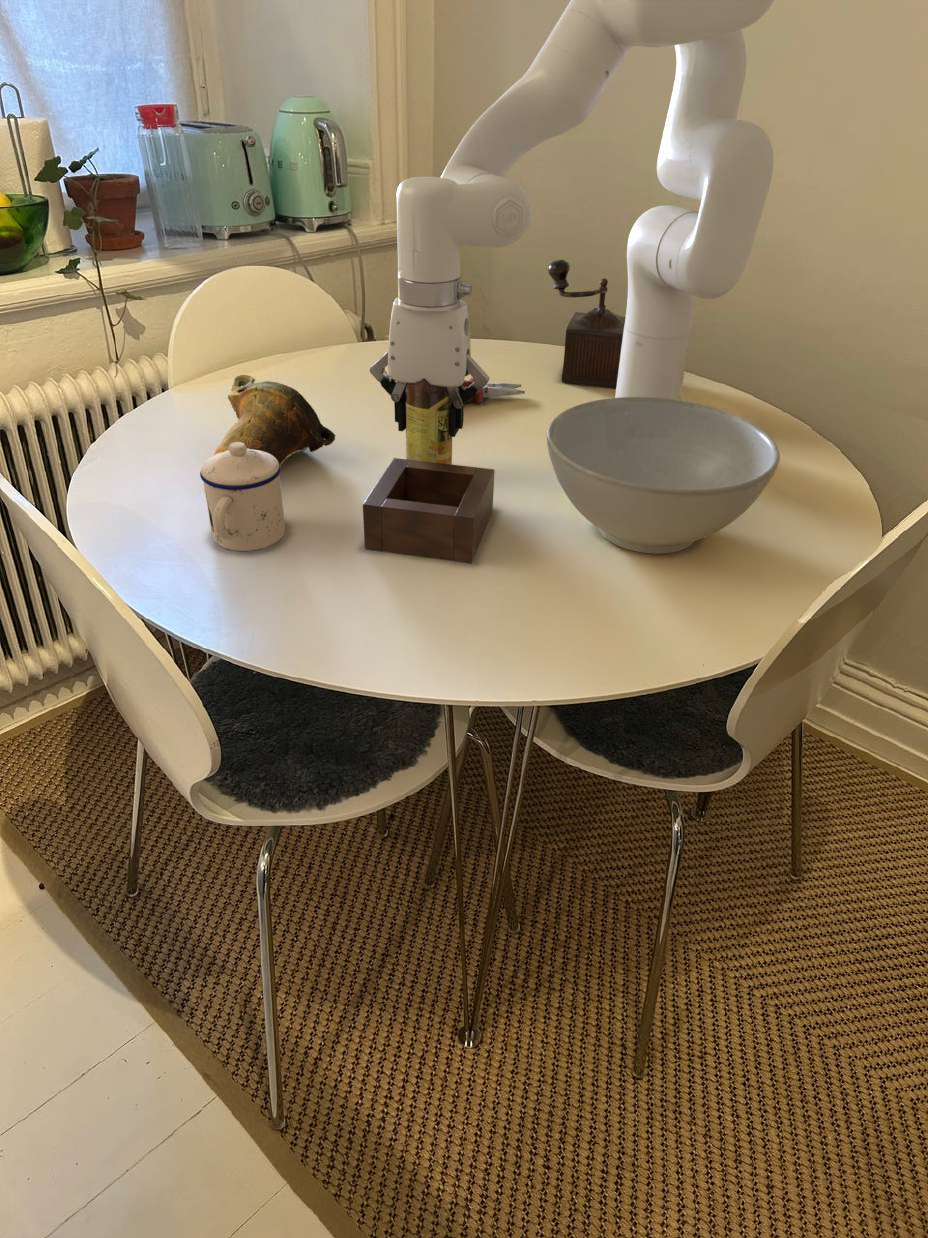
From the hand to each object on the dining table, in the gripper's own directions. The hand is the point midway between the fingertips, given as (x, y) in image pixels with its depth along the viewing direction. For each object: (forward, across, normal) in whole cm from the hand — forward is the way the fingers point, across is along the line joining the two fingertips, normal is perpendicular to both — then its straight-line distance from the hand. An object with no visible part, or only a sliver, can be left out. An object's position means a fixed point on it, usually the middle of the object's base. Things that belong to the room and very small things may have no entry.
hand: (429, 428), depth 116 cm
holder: (+7, -4, +15) cm, 17 cm away
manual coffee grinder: (+7, -16, -46) cm, 49 cm away
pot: (+7, +23, +1) cm, 24 cm away
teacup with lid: (+7, +17, +23) cm, 29 cm away
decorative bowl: (+7, -30, +8) cm, 32 cm away
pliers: (+7, +2, -27) cm, 28 cm away
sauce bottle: (+7, 0, 0) cm, 7 cm away
